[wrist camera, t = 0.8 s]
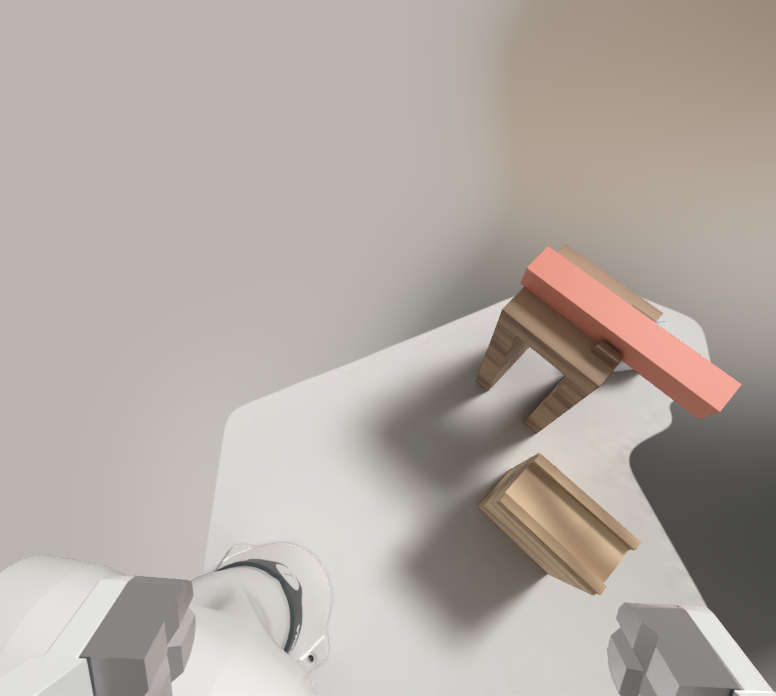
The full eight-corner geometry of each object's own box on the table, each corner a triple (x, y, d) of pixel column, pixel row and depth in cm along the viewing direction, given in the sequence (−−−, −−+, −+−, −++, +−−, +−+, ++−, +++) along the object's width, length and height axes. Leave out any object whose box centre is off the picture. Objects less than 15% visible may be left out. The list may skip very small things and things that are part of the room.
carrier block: (547, 574, 62) (598, 597, 44) (477, 506, 65) (497, 502, 47) (580, 533, 63) (643, 539, 45) (510, 469, 66) (542, 451, 48)
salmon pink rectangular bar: (719, 393, 42) (741, 384, 39) (698, 419, 42) (719, 411, 39) (540, 262, 48) (548, 245, 45) (520, 283, 48) (526, 267, 45)
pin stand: (536, 433, 68) (605, 381, 42) (475, 380, 71) (504, 302, 45) (580, 384, 70) (671, 306, 44) (518, 335, 73) (569, 235, 47)
